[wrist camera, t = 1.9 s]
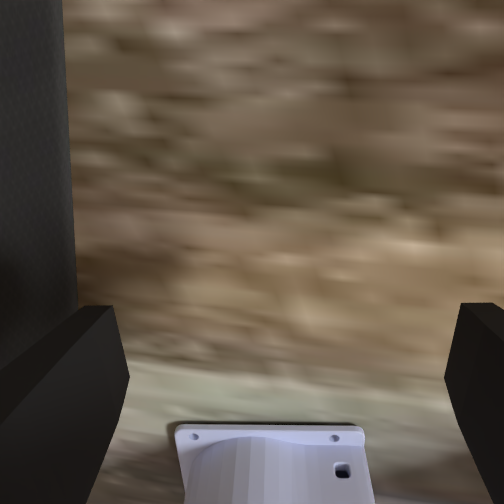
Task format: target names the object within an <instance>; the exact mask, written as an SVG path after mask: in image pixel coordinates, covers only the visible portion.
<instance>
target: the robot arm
mask: <svg viewBox="0 0 504 504" xmlns="http://www.w3.org/2000/svg"><path fill="white" fill-rule="evenodd" d="M129 378H130V375H129V371H128V367H127V363H126V359H125V355H124V350H123V346H122V342H121V338H120V334H119V330H118V326H117V322H116V317H115V313H114V309H113V305H111V306H84V307H82V308H81V309H79V310H78V311H76V312H75V313H74V314H72V315H71V316H70V317H68V318H67V319H66V320H64V321H63V322H62V323H60V324H59V325H58V326H57V327H55V328H54V329H53V330H52V331H50V332H49V333H48V334H46V335H45V336H44V337H43V338H41V339H40V340H39V341H37V342H36V343H35V344H34V345H32V346H31V347H30V348H28V349H27V350H26V351H25V352H23V353H22V354H21V355H19V356H18V357H17V358H15V359H14V360H13V361H12V362H10V363H9V364H8V365H6V366H5V367H4V368H2V369H1V370H0V504H86V502H87V499H88V497H89V494H90V492H91V489H92V487H93V484H94V482H95V479H96V477H97V474H98V472H99V470H100V467H101V465H102V462H103V460H104V457H105V454H106V452H107V449H108V447H109V444H110V442H111V439H112V437H113V434H114V432H115V429H116V426H117V424H118V421H119V417H120V414H121V410H122V406H123V403H124V399H125V395H126V391H127V386H128V382H129ZM444 379H445V383H446V386H447V390H448V393H449V396H450V400H451V403H452V407H453V410H454V413H455V416H456V419H457V422H458V425H459V427H460V430H461V432H462V434H463V437H464V439H465V441H466V443H467V446H468V448H469V450H470V452H471V455H472V457H473V459H474V461H475V464H476V466H477V468H478V470H479V472H480V475H481V477H482V479H483V481H484V483H485V486H486V488H487V490H488V492H489V494H490V497H491V499H492V501H493V503H494V504H504V310H503V309H502V308H500V307H499V306H497V305H495V304H494V303H461V305H460V310H459V314H458V319H457V323H456V327H455V332H454V336H453V340H452V345H451V349H450V354H449V358H448V362H447V367H446V371H445V376H444ZM174 437H175V442H176V447H177V452H178V458H179V463H180V468H181V473H182V479H183V484H184V489H185V499H184V504H375V500H374V495H373V489H372V484H371V479H370V474H369V469H368V464H367V459H366V454H365V449H364V442H365V435H364V430H363V429H362V428H360V427H358V426H323V425H218V424H182V425H179V426H177V427H176V429H175V434H174Z"/></svg>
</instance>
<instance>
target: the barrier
mask: <svg viewBox="0 0 504 504" xmlns="http://www.w3.org/2000/svg"><path fill="white" fill-rule="evenodd" d="M76 311H78V294H77V276H76V257H75V238H74V219H73V200H72V182H71V163H70V144H69V125H68V106H67V88H66V69H65V50H64V31H63V12H62V0H0V370H1V369H2V368H4V367H5V366H6V365H8V364H9V363H10V362H12V361H13V360H14V359H15V358H17V357H18V356H19V355H21V354H22V353H23V352H25V351H26V350H27V349H28V348H30V347H31V346H32V345H34V344H35V343H36V342H37V341H39V340H40V339H41V338H43V337H44V336H45V335H46V334H48V333H49V332H50V331H52V330H53V329H54V328H55V327H57V326H58V325H59V324H60V323H62V322H63V321H64V320H66V319H67V318H68V317H70V316H71V315H72V314H74V313H75V312H76Z"/></svg>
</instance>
